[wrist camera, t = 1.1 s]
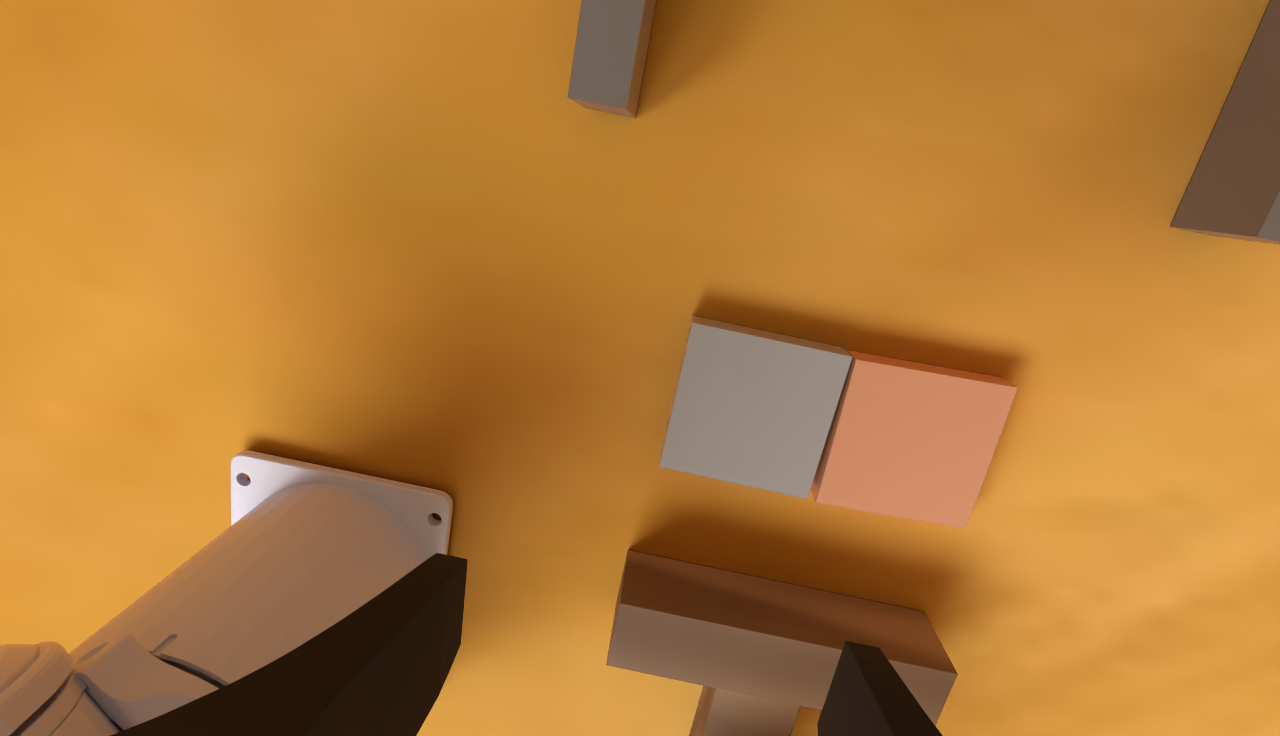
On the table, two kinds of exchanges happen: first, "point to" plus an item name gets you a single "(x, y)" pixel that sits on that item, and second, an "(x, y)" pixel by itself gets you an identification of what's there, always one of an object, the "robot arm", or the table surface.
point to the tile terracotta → (911, 439)
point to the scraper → (761, 643)
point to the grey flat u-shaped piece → (1213, 203)
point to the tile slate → (753, 406)
